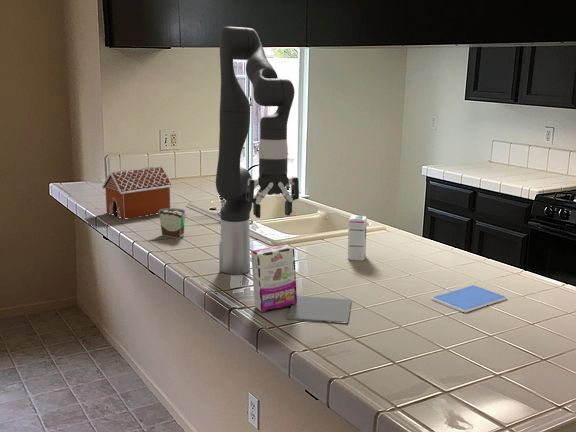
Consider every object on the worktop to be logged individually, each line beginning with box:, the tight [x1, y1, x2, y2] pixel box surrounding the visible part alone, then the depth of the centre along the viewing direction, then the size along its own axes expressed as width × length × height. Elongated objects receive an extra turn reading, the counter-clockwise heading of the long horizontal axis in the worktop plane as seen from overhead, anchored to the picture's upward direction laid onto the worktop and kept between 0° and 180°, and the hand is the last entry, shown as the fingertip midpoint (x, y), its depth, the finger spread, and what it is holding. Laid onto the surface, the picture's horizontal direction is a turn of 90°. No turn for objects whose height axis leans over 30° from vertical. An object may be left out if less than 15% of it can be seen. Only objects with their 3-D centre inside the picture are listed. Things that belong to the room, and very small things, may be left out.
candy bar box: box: [250, 244, 298, 313], centre depth 171 cm, size 11×5×16 cm, turn 117°
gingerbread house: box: [101, 165, 174, 220], centre depth 274 cm, size 18×26×20 cm
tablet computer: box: [431, 284, 508, 314], centre depth 180 cm, size 19×13×1 cm, turn 126°
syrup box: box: [347, 214, 367, 262], centre depth 215 cm, size 6×6×14 cm
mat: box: [286, 295, 352, 323], centre depth 171 cm, size 16×16×1 cm
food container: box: [157, 207, 188, 240], centre depth 240 cm, size 12×6×10 cm, turn 58°
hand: (272, 216), depth 168 cm, fingers open, 8 cm apart
